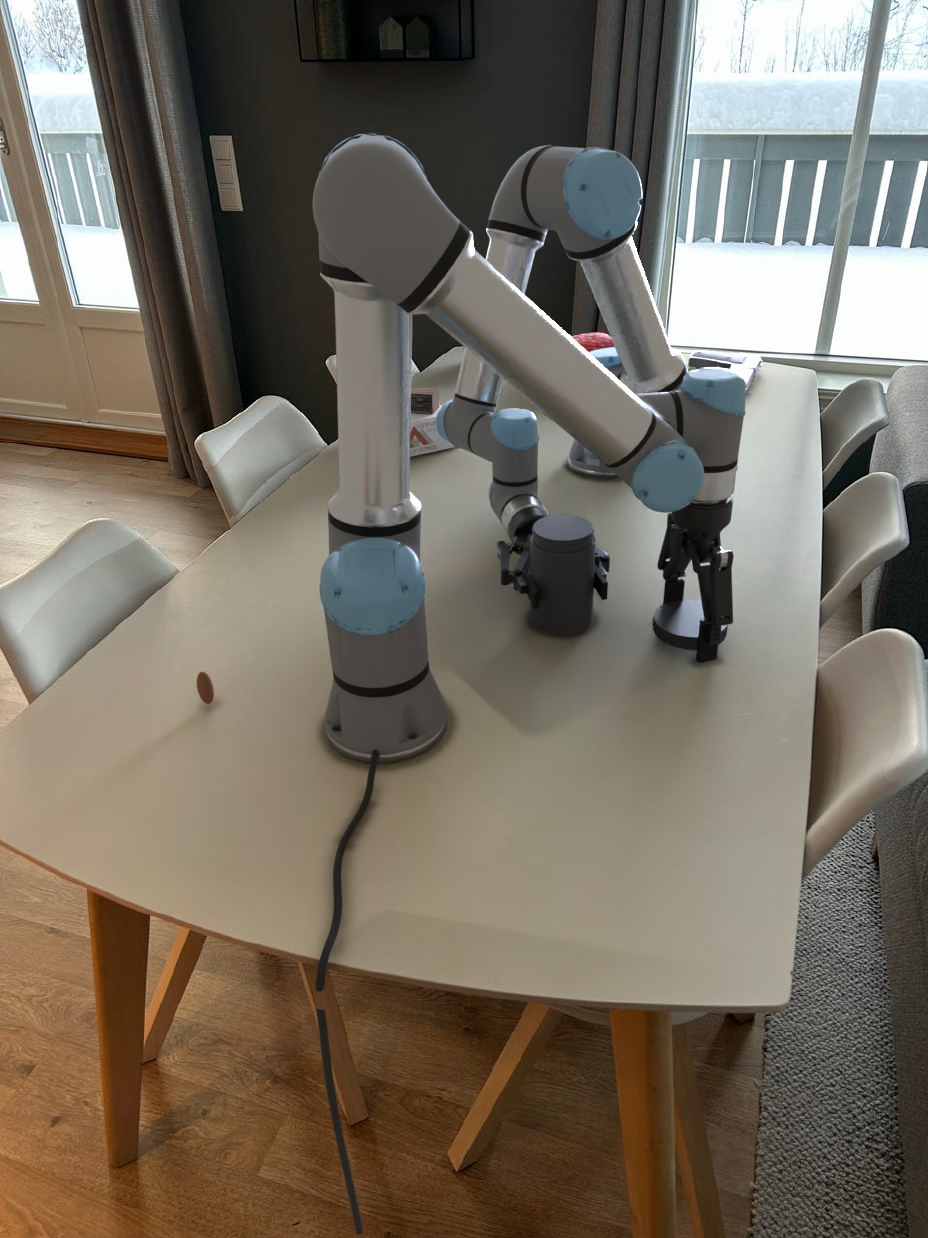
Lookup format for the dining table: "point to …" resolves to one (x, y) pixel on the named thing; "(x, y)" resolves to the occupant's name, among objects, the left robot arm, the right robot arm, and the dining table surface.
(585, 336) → the cake
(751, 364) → the pistol
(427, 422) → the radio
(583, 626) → the jar
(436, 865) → the dining table surface
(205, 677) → the egg
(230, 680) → the dining table surface
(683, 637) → the lid
